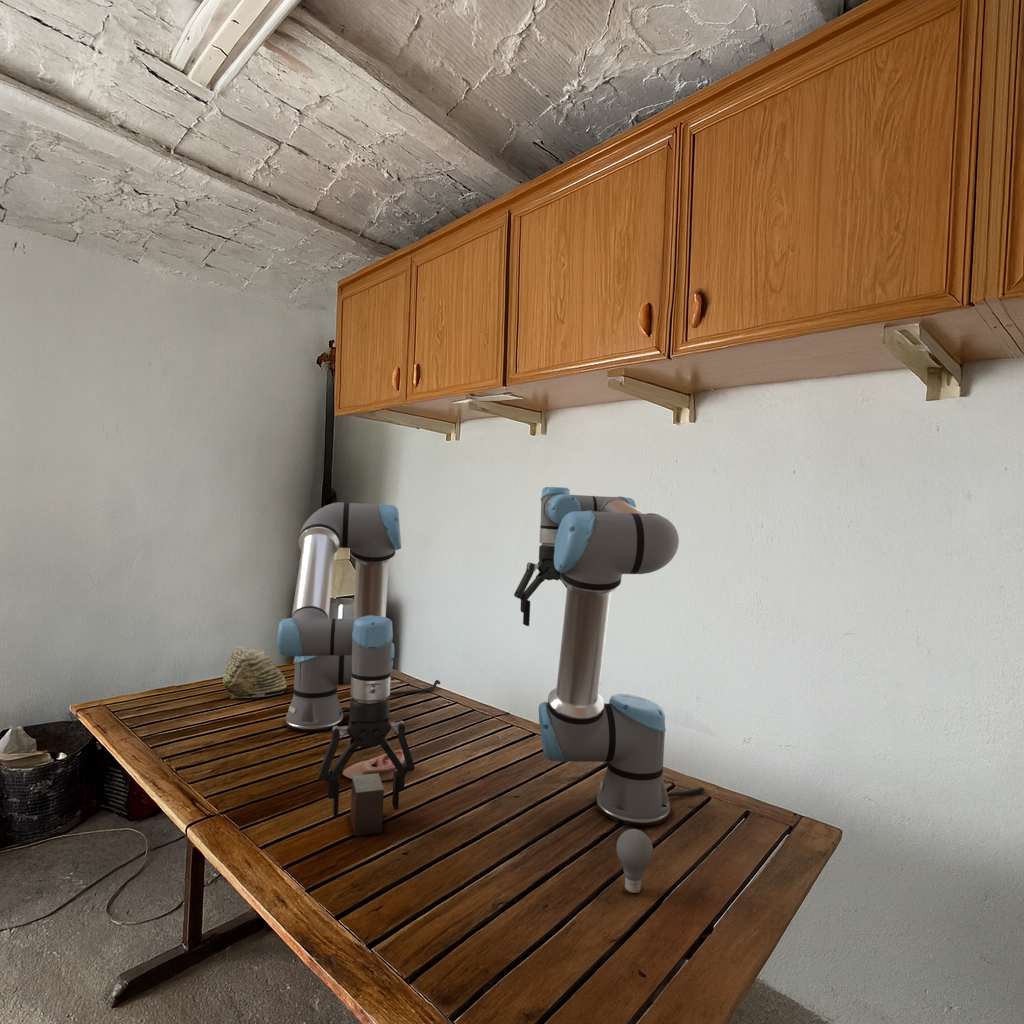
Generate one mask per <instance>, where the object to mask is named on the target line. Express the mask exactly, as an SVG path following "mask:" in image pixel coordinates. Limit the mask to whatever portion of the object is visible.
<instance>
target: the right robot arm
mask: <svg viewBox="0 0 1024 1024" xmlns="http://www.w3.org/2000/svg"><path fill="white" fill-rule="evenodd" d="M538 542H539V544H540V545H539V546H538V562H537V563H534V562H530V561H529V562H527V563H526V569H525V572H524V574H523V576H522V577H521V580H520V581H519V584H518V586H517V587H516V590H515V591H514V594H513V597H515V598H516V599H519V600H520V607H519V608H520V609H519V610H520V612H521V613H523V614H522V625H524V626H526V627H530V619H531V618H530V617H531V600H529V599H530V597H531V596H532V595H533V594H534V593H535V592H536V590H537V589H538V588H539V586H541V584H542V583H543V582H545V581H546V580H547V581H552V580H554V581H559V580H560V581H561V582H562V584H563V586H564V587H565V588H566V594H565V597H566V598H565V603H564V604H565V605H564V613H563V614H564V616H563V625H562V633H561V643H560V651H559V662H558V672H557V680H556V687H554V688H553V689H551V691H550V692H549V694H548V696H547V701H543V702H541V703H539V705H538V720H539V721H538V723H539V733H540V740H541V746H542V747H541V748H542V751H543V755H544V757H545V758H546V759H547V760H548V761H549V762H562V763H564V764H565V763H568V762H569V763H571V762H574V763H575V762H576V763H577V762H578V763H579V762H580V763H582V762H584V763H585V762H587V763H588V762H589V763H591V762H593V763H594V762H596V763H597V762H599V763H601V762H602V763H603V762H606V771H605V773H604V776H603V778H602V777H601V778H600V779H601V780H600V782H599V789H598V791H597V794H596V808H597V809H598V811H599V812H600V813H601V814H602V815H603V816H605V817H607V818H608V819H610V820H611V821H614V822H616V823H620V824H623V825H626V826H627V825H628V826H631V827H651V826H652V827H653V826H657V825H660V824H663V823H665V822H666V821H667V820H668V819H669V818H670V815H671V805H670V804H671V803H670V799H669V798H671V797H682V796H689V795H693V794H697V793H702V792H705V788H704V787H703V786H701V787H698V788H697V787H696V788H694V789H689V790H683V791H671V792H668V791H667V788H666V784H665V780H664V775H663V773H664V757H665V756H664V753H665V738H666V737H665V736H666V731H667V729H666V715H665V714H666V713H665V710H664V709H663V707H661V706H660V705H659V704H658V703H657V702H654V701H653V700H651V699H647V698H644V697H642V696H638V695H633V694H628V693H627V694H626V693H617V694H612V695H611V696H610V699H609V700H608V702H609V703H606V702H605V700H604V698H603V696H601V694H599V690H600V683H601V674H602V667H603V659H604V652H605V645H606V636H607V630H608V621H609V613H610V605H611V599H612V592H615V591H616V590H618V588H620V586H621V585H622V584H621V583H622V576H623V575H644V574H646V575H647V574H652V573H653V572H657V571H659V570H661V569H662V568H664V567H665V566H667V565H668V564H669V563H670V562H671V561H672V560H673V559H674V558H675V555H676V554H677V553H678V548H679V544H680V543H679V542H680V539H679V533H678V530H677V528H676V527H675V525H674V524H673V522H671V521H670V520H669V519H668V518H666V517H664V516H662V515H661V514H658V513H653V512H648V513H646V512H644V511H643V510H640V509H638V508H637V504H636V502H635V499H633V498H632V497H624V496H602V495H601V496H599V495H583V494H571V491H570V489H569V488H568V487H562V486H559V487H558V486H544V487H543V488H542V490H541V497H540V526H539V541H538ZM536 571H538V573H537V574H536V576H535V578H533V575H534V572H536ZM532 578H533V580H532V582H531V583H530V581H531V579H532ZM529 583H530V584H529Z"/></svg>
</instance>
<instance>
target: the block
mask: <svg viewBox="0 0 1024 1024" xmlns="http://www.w3.org/2000/svg"><path fill="white" fill-rule="evenodd" d="M350 794H351V795H350V822H351V826H352V831H353V836H354V837H359V836H367V835H375V834H381V833H383V823H384V822H383V821H384V800H385V799H384V795H385V788H384V785H383V783H382V781H381V779H380V776H379V773H375V774H366V775H356V776H352V779H351V793H350Z"/></svg>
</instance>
